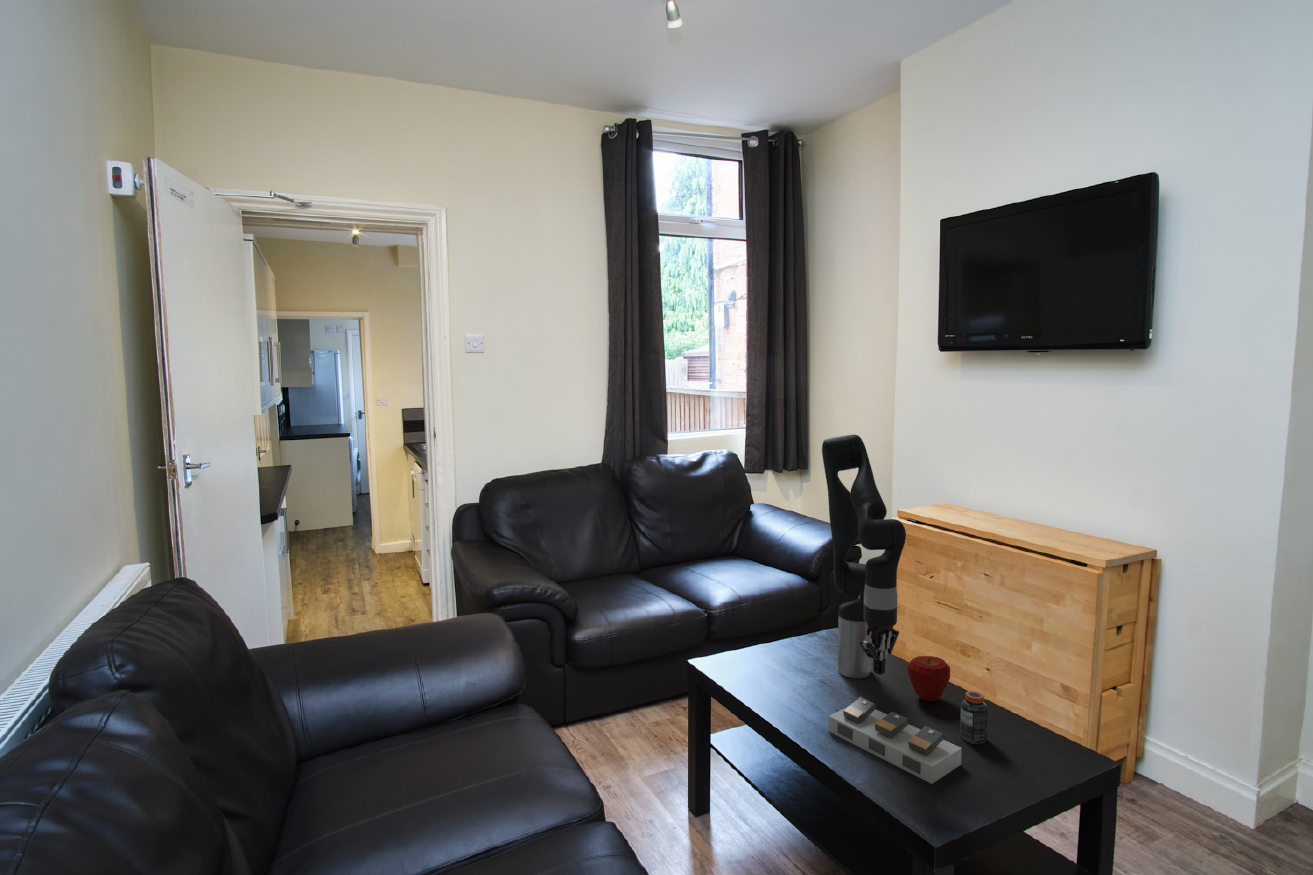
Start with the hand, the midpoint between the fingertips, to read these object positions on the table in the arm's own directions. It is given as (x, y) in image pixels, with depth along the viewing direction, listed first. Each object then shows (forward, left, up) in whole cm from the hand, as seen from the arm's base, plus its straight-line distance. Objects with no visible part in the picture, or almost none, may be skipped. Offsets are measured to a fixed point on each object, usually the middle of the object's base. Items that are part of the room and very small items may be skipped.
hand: (879, 673), depth 163 cm
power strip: (-2, +3, -18) cm, 18 cm away
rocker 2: (-2, +3, -14) cm, 14 cm away
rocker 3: (-2, +12, -14) cm, 18 cm away
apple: (-31, -5, -18) cm, 36 cm away
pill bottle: (-21, +13, -18) cm, 31 cm away
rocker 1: (-2, -6, -14) cm, 16 cm away
